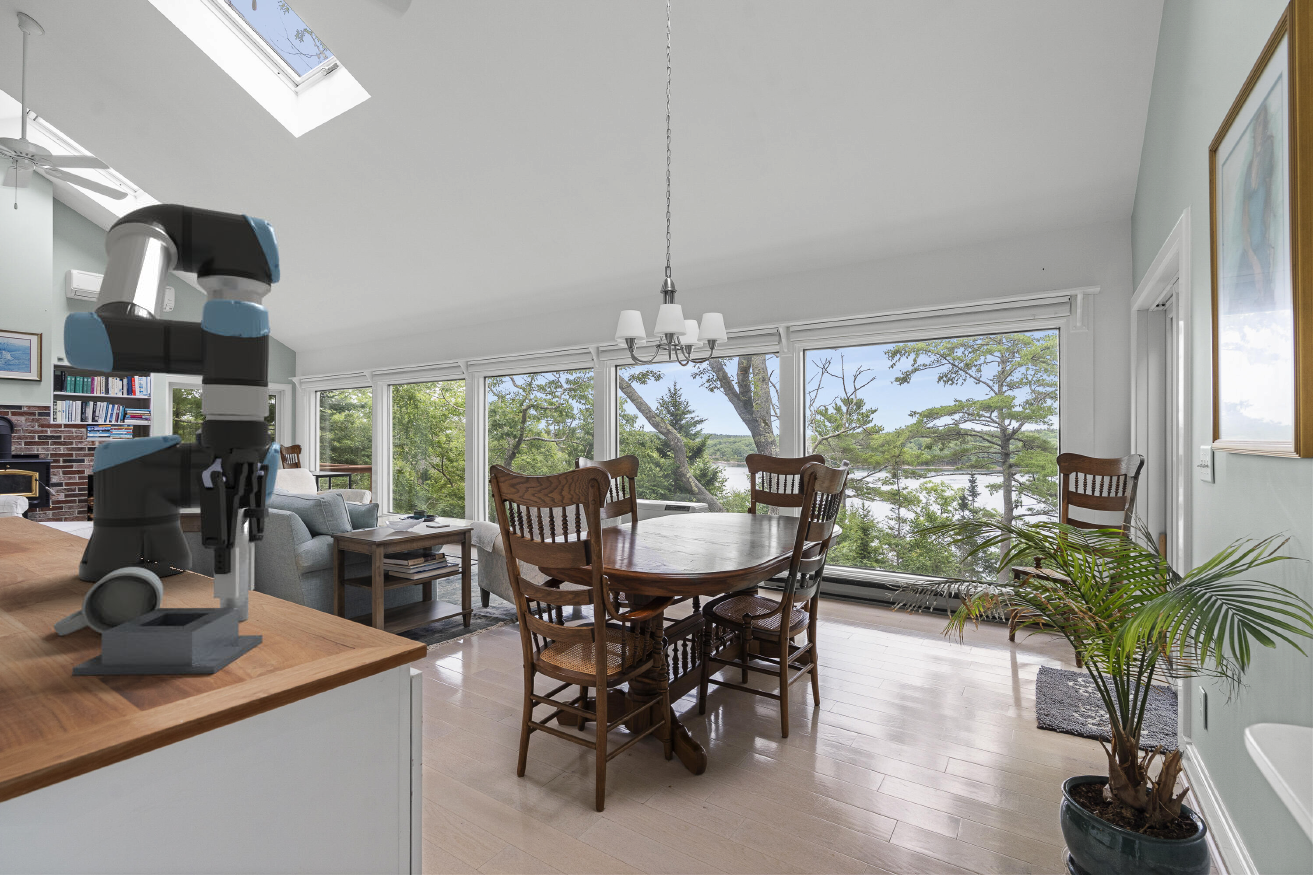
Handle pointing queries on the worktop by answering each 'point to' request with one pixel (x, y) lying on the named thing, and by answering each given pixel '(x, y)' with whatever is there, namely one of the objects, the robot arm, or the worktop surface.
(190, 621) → the chuck block
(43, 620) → the worktop surface
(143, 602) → the ceramic mug
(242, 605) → the t key
